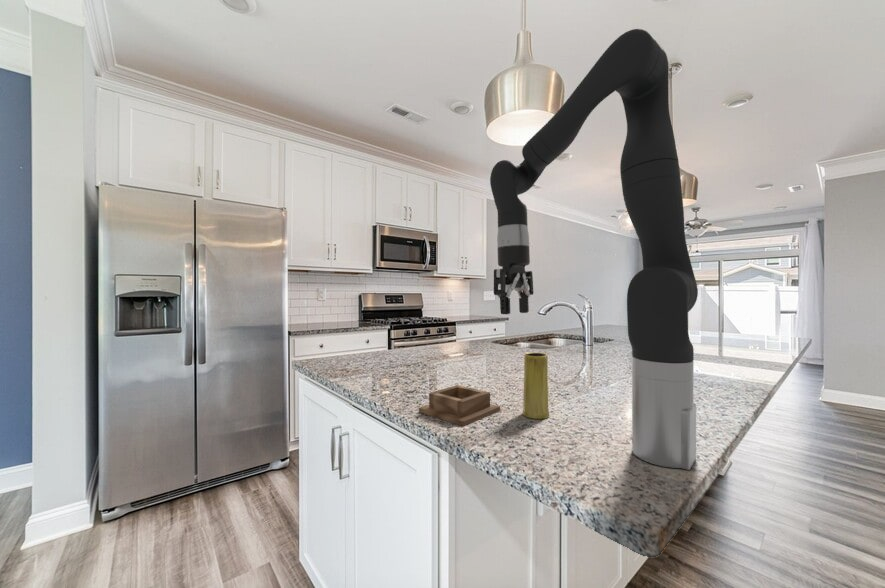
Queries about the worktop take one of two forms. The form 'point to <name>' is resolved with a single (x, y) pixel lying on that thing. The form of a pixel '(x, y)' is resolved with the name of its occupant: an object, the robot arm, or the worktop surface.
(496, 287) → the robot arm
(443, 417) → the socket block
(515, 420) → the worktop surface
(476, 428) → the worktop surface
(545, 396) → the vase
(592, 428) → the worktop surface
